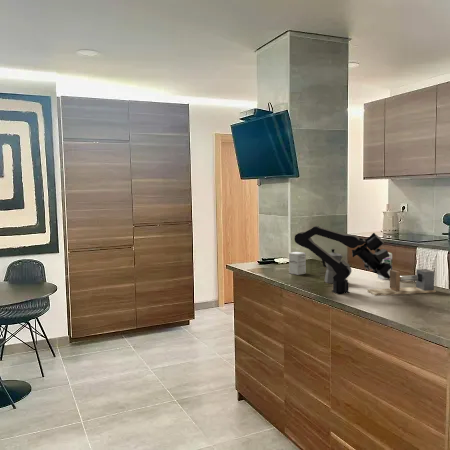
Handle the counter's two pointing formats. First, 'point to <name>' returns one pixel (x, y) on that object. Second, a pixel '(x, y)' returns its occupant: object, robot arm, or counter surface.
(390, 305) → the counter surface
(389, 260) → the syrup box
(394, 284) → the wooden block with shaft
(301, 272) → the supplement box
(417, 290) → the birch base plate
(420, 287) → the bearing block
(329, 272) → the coffeepot
